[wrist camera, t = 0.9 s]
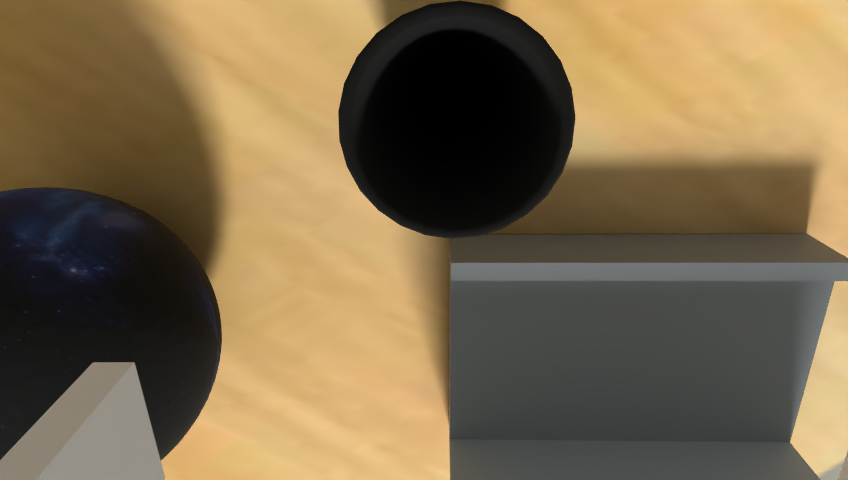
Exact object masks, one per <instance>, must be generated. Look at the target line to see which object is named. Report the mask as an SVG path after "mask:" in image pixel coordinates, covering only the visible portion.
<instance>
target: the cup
mask: <svg viewBox="0 0 848 480" xmlns="http://www.w3.org/2000/svg"><path fill="white" fill-rule="evenodd" d="M574 124H575V111H574V103H573V96H572V88H571V86H570V83H569V80H568V78H567V75H566V73H565V70H564V68H563V65H562V63H561V61H560V59H559V58H558V56H557V55H556V54H555V52H554V51H553V50H552V48H551V47H550V46H549V44H548V43H547V42H546V40H545V39H544V37H543V36H542V35H540V34H539V33H538V32H537V31H535V30H534V29H533V28H532V27H530V26H529V25H528V24H527V23H525V22H524V21H523V20H522V19H520V18H519V17H517V16H514V15H512V14H510V13H508V12H505V11H503V10H501V9H498V8H496V7H494V6H492V5H486V4H479V3H473V2H466V1H454V2H445V3H436V4H429V5H427V6H424V7H422V8H419V9H416V10H414V11H411V12H409V13H406V14H404V15H401V16H400V17H398V18H397V19H396V20H394V21H393V22H391V23H390V24H389V25H387V26H386V27H385V28H383V29H382V30H380V31H379V32H378V33H376V35H375V36H374V37H373V38H372V39H371V41H370V42H369V43H368V44H367V45H366V47H365V48H364V49H363V50H362V51H361V53H360V54H359V55H358V56H357V58H356V60H355V62H354V64H353V66H352V68H351V70H350V73H349V75H348V77H347V79H346V81H345V83H344V88H343V92H342V97H341V102H340V107H339V139H340V143H341V147H342V151H343V154H344V158H345V161H346V165H347V168H348V169H349V171H350V173H351V175H352V177H353V178H354V180H355V182H356V184H357V185H358V187H359V189H360V191H361V192H362V193H363V194H364V195H365V196H366V197H367V198H368V199H369V201H370V202H371V203H372V204H373V205H374V206H375V207H376V208H377V209H378V210H379V211H380V212H382V213H383V214H385V215H386V216H388V217H389V218H390V219H392V220H393V221H395V222H396V223H398V224H399V225H401V226H403V227H406V228H409V229H411V230H414V231H417V232H419V233H422V234H424V235H429V236H437V237H444V238H451V239H453V238H465V237H476V236H481V235H484V234H487V233H490V232H493V231H496V230H500V229H503V228H505V227H507V226H508V225H510V224H512V223H513V222H515V221H517V220H518V219H520V218H522V217H523V216H525V215H527V214H528V213H529V212H530V211H531V210H532V209H533V208H534V207H535V206H536V205H537V204H538V203H540V202H541V201H542V200H543V199H544V198H545V197H546V196H547V195H548V193H549V192H550V190H551V189H552V187H553V186H554V184H555V182H556V181H557V179H558V178H559V176H560V175H561V173H562V172H563V169H564V166H565V163H566V161H567V158H568V155H569V153H570V150H571V147H572V142H573V133H574Z"/></svg>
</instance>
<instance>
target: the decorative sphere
mask: <svg viewBox="0 0 848 480" xmlns="http://www.w3.org/2000/svg"><path fill="white" fill-rule="evenodd" d="M221 343H222V332H221V319H220V313H219V308H218V304H217V300H216V296H215V293H214V290H213V288H212V285H211V283H210V281H209V279H208V276H207V274H206V273H205V271H204V269H203V267H202V266H201V264H200V263H199V261H198V260H197V258H196V257H195V255H194V254H193V253H192V251H191V250H190V249H189V248H188V246H187V245H186V244H185V243H184V242H183V241H182V240H181V239H180V238H179V237H178V236H177V235H176V234H175V233H173V232H172V231H171V230H170V229H169V228H167V227H166V226H165V225H163V224H162V223H161V222H159V221H158V220H156V219H155V218H153V217H152V216H150V215H148V214H147V213H145V212H143V211H141V210H139V209H137V208H135V207H133V206H131V205H129V204H127V203H124V202H122V201H119V200H116V199H113V198H110V197H107V196H104V195H100V194H96V193H92V192H87V191H81V190H74V189H64V188H47V187H45V188H23V189H15V190H8V191H2V192H0V460H1V459H2V458H3V457H4V456H5V455H6V454H7V452H8V451H9V450H10V449H11V448H12V447H13V446H14V445H15V444H16V443H17V442H18V441H19V440H20V439H21V438H22V437H23V436H24V435H25V434H26V432H27V431H28V430H29V429H30V428H31V427H32V426H33V425H34V424H35V423H36V422H37V421H38V420H39V419H40V418H41V417H42V416H43V415H44V414H45V412H46V411H47V410H48V409H49V408H50V407H51V406H52V405H53V404H54V403H55V402H56V401H57V400H58V399H59V398H60V397H61V396H62V395H63V394H64V393H65V391H66V390H67V389H68V388H69V387H70V386H71V385H72V384H73V383H74V382H75V381H76V380H77V379H78V378H79V377H80V376H81V375H82V374H83V373H84V371H85V370H86V369H87V368H88V367H89V366H90V365H91V364H92V363H93V362H135V366H136V370H137V374H138V377H139V381H140V385H141V389H142V393H143V396H144V400H145V404H146V408H147V411H148V415H149V419H150V423H151V426H152V430H153V434H154V438H155V442H156V445H157V449H158V453H159V457H160V460H162V459H163V458H164V457H165V456H166V455H167V454H168V453H169V452H170V451H171V450H172V449H173V448H174V447H175V446H176V445H177V444H178V443H179V442H180V441H181V439H182V438H183V437H184V436H185V434H186V433H187V432H188V431H189V429H190V428H191V426H192V425H193V423H194V422H195V420H196V419H197V417H198V416H199V414H200V412H201V410H202V408H203V407H204V405H205V403H206V401H207V399H208V397H209V394H210V392H211V389H212V386H213V383H214V381H215V377H216V374H217V370H218V365H219V361H220V353H221Z"/></svg>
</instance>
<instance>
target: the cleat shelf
mask: <svg viewBox="0 0 848 480" xmlns="http://www.w3.org/2000/svg"><path fill="white" fill-rule="evenodd" d="M834 281H848V258H846V257H845V256H843V255H841V254H840V253H838V252H836V251H835V250H833V249H831V248H830V247H828V246H826V245H825V244H823V243H821V242H820V241H818V240H816V239H815V238H813V237H811V236H810V235H808V234H484V235H481V236H476V237H465V238H453V239H451V238H450V343H449V443H450V480H820V479H819V478H818V476H817V475H816V474H815V473H814V471H813V470H812V469H811V468H810V467H809V465H808V464H807V463H806V462H805V460H804V459H803V458H802V457H801V456H800V454H799V453H798V452H797V451H796V449H795V448H794V447H793V446H792V444H791V443H790V440H791V436H792V433H793V429H794V425H795V422H796V418H797V415H798V411H799V407H800V404H801V400H802V397H803V393H804V389H805V386H806V382H807V379H808V375H809V371H810V368H811V364H812V361H813V357H814V353H815V350H816V346H817V343H818V339H819V335H820V332H821V328H822V325H823V321H824V317H825V314H826V310H827V306H828V303H829V299H830V296H831V292H832V288H833V285H834Z"/></svg>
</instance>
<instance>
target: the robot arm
mask: <svg viewBox="0 0 848 480" xmlns="http://www.w3.org/2000/svg"><path fill="white" fill-rule="evenodd" d="M164 478H165V475H164V472H163V468H162V464H161V460H160V457H159V453H158V449H157V445H156V442H155V438H154V434H153V430H152V426H151V423H150V419H149V415H148V411H147V408H146V404H145V400H144V396H143V393H142V389H141V385H140V381H139V377H138V374H137V370H136V366H135V362H93V363H92V364H91V365H90V366H89V367H88V368H87V369H86V370H85V371H84V373H83V374H82V375H81V376H80V377H79V378H78V379H77V380H76V381H75V382H74V383H73V384H72V385H71V386H70V387H69V388H68V389H67V390H66V391H65V393H64V394H63V395H62V396H61V397H60V398H59V399H58V400H57V401H56V402H55V403H54V404H53V405H52V406H51V407H50V408H49V409H48V410H47V411H46V412H45V414H44V415H43V416H42V417H41V418H40V419H39V420H38V421H37V422H36V423H35V424H34V425H33V426H32V427H31V428H30V429H29V430H28V431H27V432H26V434H25V435H24V436H23V437H22V438H21V439H20V440H19V441H18V442H17V443H16V444H15V445H14V446H13V447H12V448H11V449H10V450H9V451H8V452H7V454H6V455H5V456H4V457H3V458H2V459H1V460H0V480H164ZM838 480H848V452H847V455H846V458H845V461H844V464H843V467H842V470H841V473H840V476H839V478H838Z"/></svg>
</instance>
